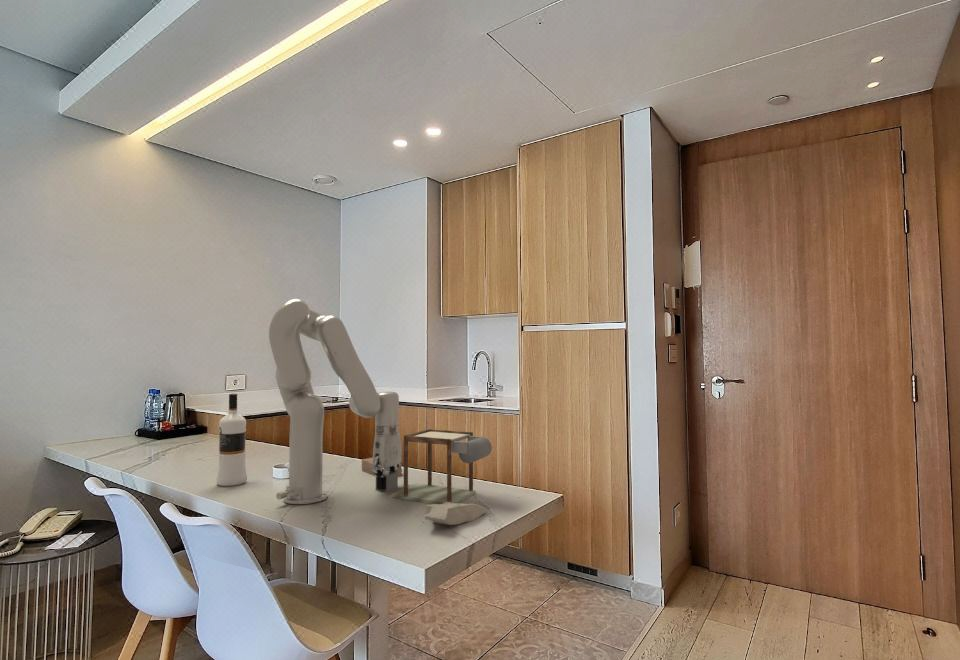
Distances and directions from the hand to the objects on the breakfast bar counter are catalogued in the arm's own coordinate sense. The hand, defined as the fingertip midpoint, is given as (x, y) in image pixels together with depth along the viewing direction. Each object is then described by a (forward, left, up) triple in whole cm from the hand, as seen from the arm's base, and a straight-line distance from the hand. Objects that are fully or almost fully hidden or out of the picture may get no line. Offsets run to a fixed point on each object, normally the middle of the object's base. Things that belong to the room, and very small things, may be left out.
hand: (386, 486), depth 170 cm
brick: (+17, +15, -1) cm, 23 cm away
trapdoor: (0, -24, +11) cm, 26 cm away
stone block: (0, 0, -1) cm, 1 cm away
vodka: (-17, +51, -1) cm, 54 cm away
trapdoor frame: (0, -18, -1) cm, 18 cm away
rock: (-18, -33, -1) cm, 37 cm away
